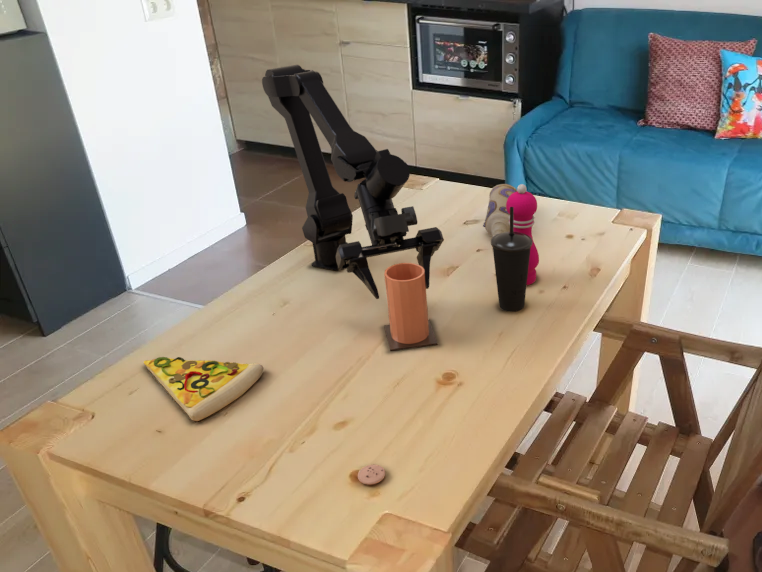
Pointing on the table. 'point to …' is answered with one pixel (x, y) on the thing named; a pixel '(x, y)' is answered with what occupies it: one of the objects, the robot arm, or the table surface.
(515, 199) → the pepper mill
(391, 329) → the peach cup
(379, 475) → the cookie
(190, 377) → the pizza slice
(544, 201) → the table surface
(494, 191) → the decorative bottle
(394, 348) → the walnut coaster
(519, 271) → the drinking cup
